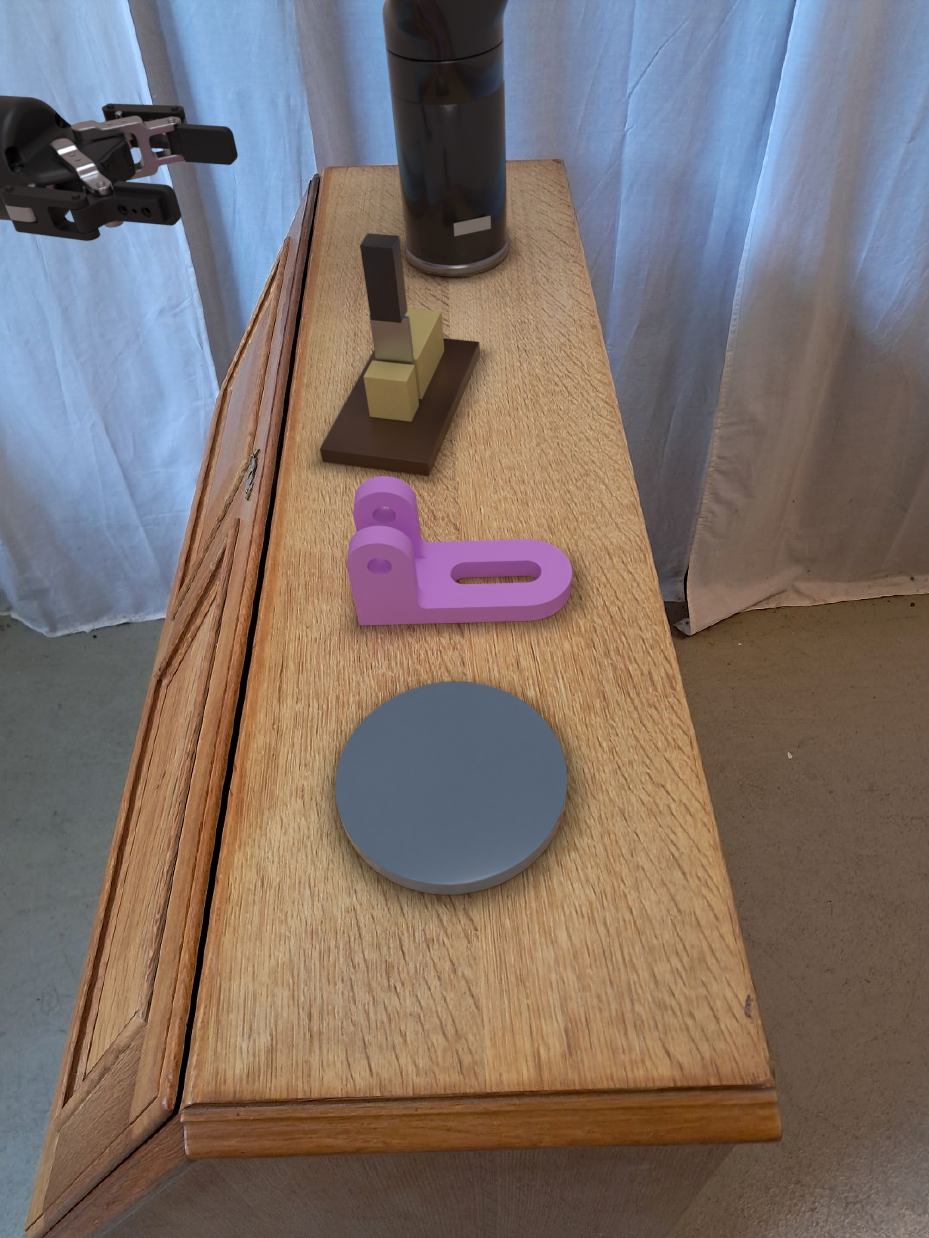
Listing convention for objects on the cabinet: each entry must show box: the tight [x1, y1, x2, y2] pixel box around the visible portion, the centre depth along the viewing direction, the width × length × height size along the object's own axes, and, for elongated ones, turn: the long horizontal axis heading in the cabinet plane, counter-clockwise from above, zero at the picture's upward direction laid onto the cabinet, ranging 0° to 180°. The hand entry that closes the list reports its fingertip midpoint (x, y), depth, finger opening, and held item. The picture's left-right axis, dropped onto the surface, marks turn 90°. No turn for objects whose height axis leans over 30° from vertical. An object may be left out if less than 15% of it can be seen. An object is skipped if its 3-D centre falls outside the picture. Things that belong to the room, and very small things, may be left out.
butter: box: [405, 307, 444, 399], centre depth 69 cm, size 6×3×4 cm, turn 165°
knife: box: [359, 232, 419, 401], centre depth 63 cm, size 2×3×12 cm, turn 75°
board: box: [319, 337, 481, 477], centre depth 69 cm, size 15×8×1 cm, turn 165°
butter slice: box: [364, 361, 419, 422], centre depth 66 cm, size 2×3×4 cm, turn 75°
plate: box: [334, 681, 569, 896], centre depth 48 cm, size 12×12×1 cm
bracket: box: [346, 475, 573, 626], centre depth 55 cm, size 13×6×7 cm, turn 89°
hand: (206, 174), depth 58 cm, fingers open, 8 cm apart
